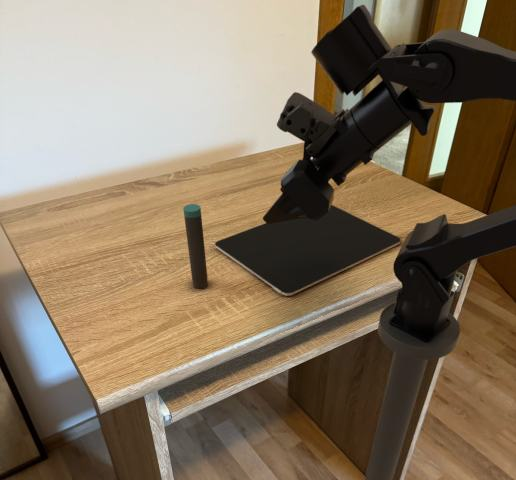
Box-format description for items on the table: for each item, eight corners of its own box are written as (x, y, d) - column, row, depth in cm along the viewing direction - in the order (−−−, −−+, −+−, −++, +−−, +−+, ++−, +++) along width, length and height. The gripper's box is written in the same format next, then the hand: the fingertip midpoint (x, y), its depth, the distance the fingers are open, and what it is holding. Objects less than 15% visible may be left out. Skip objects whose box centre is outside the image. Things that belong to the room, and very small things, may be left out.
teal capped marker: (211, 284, 76) (204, 207, 68) (199, 291, 75) (190, 213, 67) (201, 279, 78) (193, 202, 69) (189, 285, 77) (179, 207, 68)
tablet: (286, 295, 73) (211, 243, 85) (285, 299, 73) (211, 246, 85) (403, 239, 85) (324, 201, 97) (402, 243, 85) (323, 204, 97)
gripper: (335, 53, 61) (253, 136, 71) (304, 92, 48) (207, 188, 57) (389, 124, 64) (303, 194, 74) (374, 179, 51) (271, 256, 61)
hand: (274, 205), depth 66 cm, fingers open, 9 cm apart
